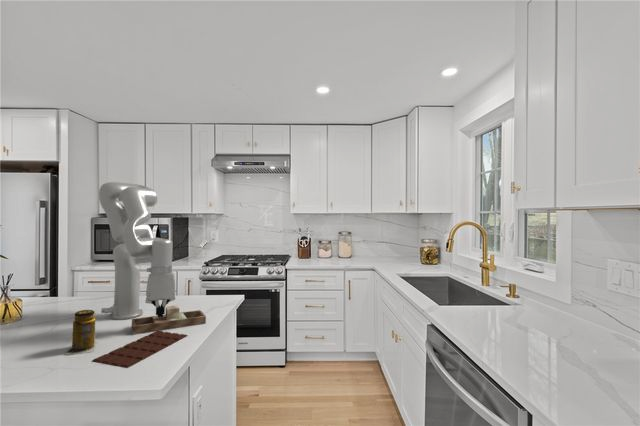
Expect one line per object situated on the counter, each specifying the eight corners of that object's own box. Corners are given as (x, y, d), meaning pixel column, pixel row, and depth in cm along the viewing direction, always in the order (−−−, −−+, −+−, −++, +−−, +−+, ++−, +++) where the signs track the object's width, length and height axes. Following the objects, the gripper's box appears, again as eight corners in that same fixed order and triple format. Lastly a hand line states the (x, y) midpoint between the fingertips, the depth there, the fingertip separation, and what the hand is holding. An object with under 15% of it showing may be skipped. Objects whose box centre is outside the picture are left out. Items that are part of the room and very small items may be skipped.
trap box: (133, 334, 120) (133, 326, 120) (131, 326, 129) (131, 318, 129) (205, 323, 135) (205, 316, 135) (199, 316, 143) (200, 310, 143)
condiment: (97, 342, 113) (98, 307, 113) (93, 352, 105) (94, 314, 105) (71, 345, 109) (72, 309, 109) (65, 355, 102) (66, 317, 102)
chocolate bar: (157, 332, 124) (157, 330, 124) (187, 337, 121) (187, 334, 121) (91, 362, 98) (91, 359, 98) (127, 369, 95) (127, 366, 95)
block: (166, 319, 129) (167, 309, 129) (165, 316, 133) (165, 306, 133) (179, 318, 131) (179, 308, 131) (177, 315, 135) (177, 305, 135)
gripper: (140, 273, 123) (139, 322, 122) (183, 270, 131) (181, 316, 131) (139, 270, 129) (138, 316, 129) (179, 267, 137) (178, 311, 137)
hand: (160, 316), depth 130 cm, fingers closed
